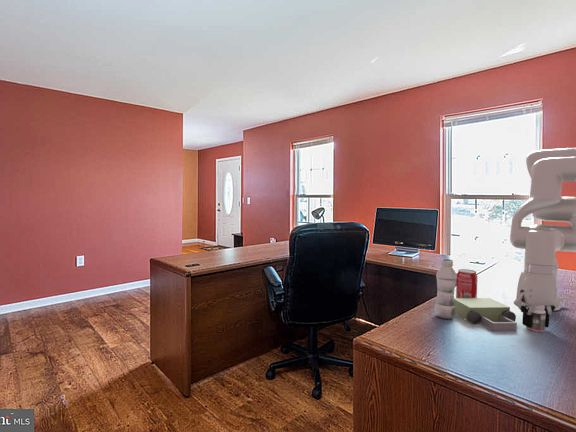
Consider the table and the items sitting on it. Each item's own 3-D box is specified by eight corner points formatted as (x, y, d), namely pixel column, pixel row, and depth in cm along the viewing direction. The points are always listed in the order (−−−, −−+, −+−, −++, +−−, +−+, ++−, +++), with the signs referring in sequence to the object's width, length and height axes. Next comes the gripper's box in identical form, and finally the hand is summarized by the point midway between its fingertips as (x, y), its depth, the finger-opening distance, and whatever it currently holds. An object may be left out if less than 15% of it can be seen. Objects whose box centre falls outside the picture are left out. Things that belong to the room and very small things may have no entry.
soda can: (479, 307, 124) (481, 273, 123) (458, 305, 125) (460, 272, 124) (472, 301, 131) (474, 269, 130) (453, 300, 132) (454, 268, 131)
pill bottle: (522, 327, 105) (523, 301, 104) (531, 325, 107) (533, 300, 106) (538, 333, 100) (540, 306, 100) (548, 330, 102) (549, 304, 102)
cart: (488, 309, 121) (489, 296, 120) (528, 330, 102) (529, 314, 102) (446, 310, 120) (447, 296, 119) (480, 331, 101) (481, 315, 101)
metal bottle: (453, 315, 115) (456, 259, 113) (456, 322, 108) (459, 262, 107) (433, 312, 117) (435, 257, 115) (435, 319, 110) (437, 261, 109)
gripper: (553, 266, 107) (550, 321, 108) (504, 266, 105) (501, 321, 107) (575, 271, 99) (571, 330, 100) (522, 271, 98) (519, 331, 99)
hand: (535, 325), depth 103 cm, fingers closed on pill bottle, 4 cm apart
